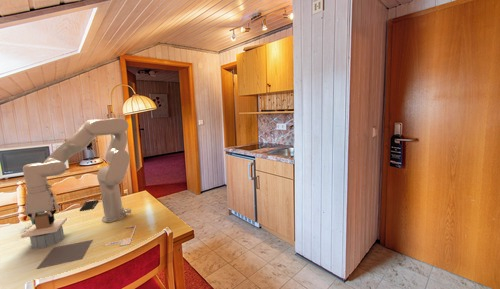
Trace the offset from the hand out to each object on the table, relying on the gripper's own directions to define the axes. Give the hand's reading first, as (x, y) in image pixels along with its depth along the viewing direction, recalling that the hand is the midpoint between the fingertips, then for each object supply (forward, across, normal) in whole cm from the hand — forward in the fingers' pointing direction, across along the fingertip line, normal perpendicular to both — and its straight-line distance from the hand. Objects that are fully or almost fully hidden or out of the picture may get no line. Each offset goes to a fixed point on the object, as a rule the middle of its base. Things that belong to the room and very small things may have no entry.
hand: (45, 223), depth 112 cm
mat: (+10, -13, +16) cm, 23 cm away
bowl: (+10, 0, 0) cm, 10 cm away
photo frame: (+10, -32, +10) cm, 35 cm away
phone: (+10, -6, -44) cm, 46 cm away
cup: (+10, +14, -24) cm, 30 cm away
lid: (+2, 0, 0) cm, 2 cm away
